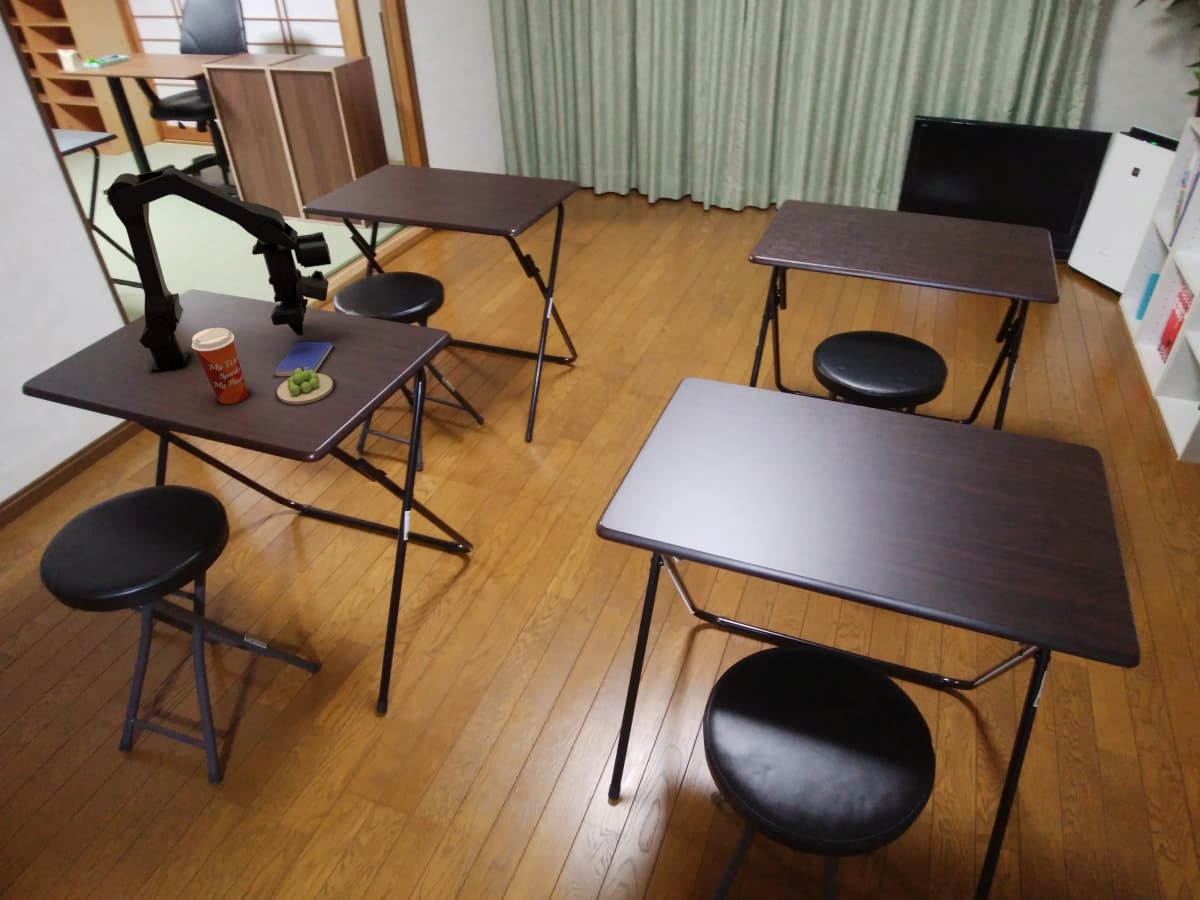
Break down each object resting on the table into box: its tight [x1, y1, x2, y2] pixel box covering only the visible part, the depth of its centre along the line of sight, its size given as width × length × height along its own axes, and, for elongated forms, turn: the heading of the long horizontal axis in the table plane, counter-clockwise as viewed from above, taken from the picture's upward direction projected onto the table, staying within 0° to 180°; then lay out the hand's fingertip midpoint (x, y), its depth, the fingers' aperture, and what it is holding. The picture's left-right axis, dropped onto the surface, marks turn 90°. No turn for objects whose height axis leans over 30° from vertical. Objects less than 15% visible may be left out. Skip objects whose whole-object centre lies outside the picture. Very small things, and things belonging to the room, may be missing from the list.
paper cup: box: [191, 327, 248, 405], centre depth 151 cm, size 8×8×14 cm
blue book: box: [274, 341, 333, 377], centre depth 166 cm, size 2×8×12 cm
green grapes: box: [287, 366, 319, 395], centre depth 155 cm, size 8×6×5 cm
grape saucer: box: [276, 372, 334, 406], centre depth 156 cm, size 11×11×1 cm
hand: (300, 335), depth 172 cm, fingers closed
